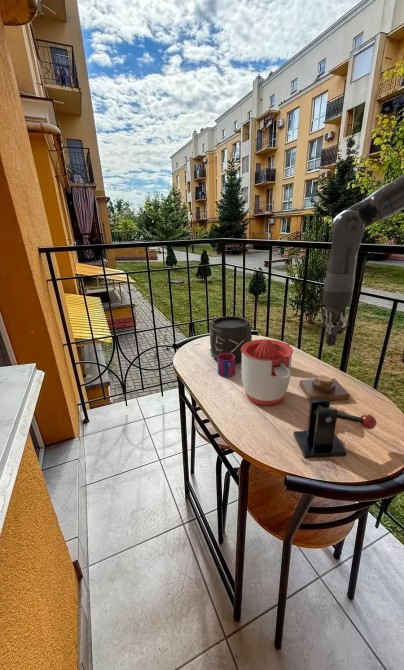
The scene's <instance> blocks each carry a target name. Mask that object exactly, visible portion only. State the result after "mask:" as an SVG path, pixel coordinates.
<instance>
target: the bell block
mask: <svg viewBox="0 0 404 670" xmlns="http://www.w3.org/2000/svg"><path fill="white" fill-rule="evenodd" d="M330 378H331V385H329V386H323V385H320V384H318V383H317V381H318V376H316V377H314V378H313V379H312V378H311V379H300V380H299V387H300V389H301V390H302V392H303V393H304V395H305V396H306V398H307V399H308V401H309V402H310V401H311V400H324V399H328V400H329V401H330V402H340V401H341V402H342V401H343V402H344V401H350V393H349V392H348V391H347V389H345V388H344V386H342V385H341V384H340V382H338V380H336V378H332V377H330Z"/></svg>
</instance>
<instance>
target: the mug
mask: <svg viewBox="0 0 404 670" xmlns="http://www.w3.org/2000/svg"><path fill="white" fill-rule="evenodd" d="M217 360H218V361H217V374H218V375H219V376H220V377H223V378H229V377H233V376H234V375H236V364H235V355H233V354H231V353H222V354H219V355H218V356H217Z"/></svg>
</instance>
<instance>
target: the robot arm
mask: <svg viewBox="0 0 404 670" xmlns="http://www.w3.org/2000/svg"><path fill="white" fill-rule="evenodd" d="M402 210H404V174H402V175H400V176H398V177H396V178H395V179H394V180H392V181H390V182H389V183H387V184H385V185H384V186H382V187H380V188H379V189H378V190H375V192H373V193H372V194H371V195H369V196H368V197H367V198H365V199H362V200H361V201H359V202H358V203H356V204H353V205H352V206H350V207H349V208H347V209H345V210H343V211H342V212H340V213H338V214H337V215H336V216H335V217H334V218H333V220H332V222H331V228H330V230H331V232H332V241H331V247H330V252H329V254H328V258H327V259H328V260H327V265H326V274H325V276H324V277H325V278H324V283H323V292H322V300H321V303H322V304H323V305H324V306H325V309H322V310H321V311H320V314H321V315H320V316H321V321H322V325H323V329H325V332H326V339H325V344H326V345H327V346H328V347H334V346H336V343H337V335H342V334H343V333H344V332H345V331H346V329H347V328H348V327H349V325H350V321H349V320H346V318H345V317H346V314H347V313H346V308H349V307H350V306H351V304H352V300H353V293H354V289H355V279H356V278H355V276H356V275H355V274H356V268H357V261H358V253H359V249H360V247H361V243H362V239H363V236H364V230H365V229H366V228H369V227H370V226H372V225H373V224H375V223H377V222H380V221H383V220H385V219H388V218H389V217H392V216H393V215H395V214H397V213H398V212H400V211H402Z"/></svg>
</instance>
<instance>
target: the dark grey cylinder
mask: <svg viewBox="0 0 404 670" xmlns="http://www.w3.org/2000/svg"><path fill="white" fill-rule="evenodd" d="M208 327H209V344H210V349H209V351H210V354H211V357H212V358H213V357H214V358H213V360H214V361H216V362H218V360H217V356H218V355H219V354H222V353H231V354H233V355H235V365H237V364H242V351H241V347H242V345H243V344H245V343H247V342H249V341H253V335H252V329H253V326H252V324H251V323H250V321H249V319H248V318H247V317H243V316H237V315H225V316H219V317H217V318H214V319H213V320H212V321H211V322H210V324H209V325H208Z"/></svg>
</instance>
